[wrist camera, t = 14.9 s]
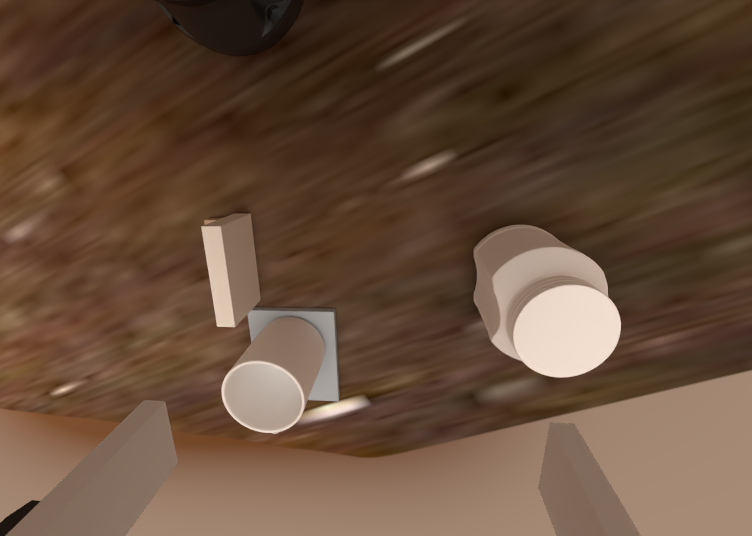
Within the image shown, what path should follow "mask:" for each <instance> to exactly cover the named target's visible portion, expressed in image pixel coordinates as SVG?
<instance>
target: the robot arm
mask: <svg viewBox="0 0 752 536" xmlns="http://www.w3.org/2000/svg"><path fill="white" fill-rule="evenodd" d="M155 1H157V3H158V5H159V6H160V8H161V9H162V10H163V12H164V13H165V15H166V16H167V17H168V18H169V20H170V21H171V22H172V23H173V24H174V25H175V26H176V27H177V28H178V29H179V30H180V31H182V32H183V33H184V34H185V35H186V36H188V37H189V38H191V39H192V40H194V41H195V42H197V43H199V44H201V45H203V46H205V47H207V48H209V49H211V50H213V51H216V52H219V53H222V54H227V55H234V56H242V55H250V54H254V53H258V52H260V51H263V50H265V49H267V48H269V47H270V46H272V45H273V44H275V43H276V42H277V41H279V40H280V39H281V38H282V37H283V36H284V35H285V34H286V32H287V31H288V30H289V29H290V27H291V26H292V24H293V23H294V21H295V19H296V17H297V15H298V13H299V11H300V9H301V6H302V3H303V0H155ZM177 463H178V462H177V457H176V452H175V447H174V442H173V437H172V433H171V428H170V423H169V418H168V413H167V409H166V404H165V401H151V400H144V401H143V402H142V403H141V404H140V405H139V406H138V407H137V408H136V409H135V410H134V411H133V412H132V413H131V414H130V415H129V416H128V417H126V418H125V419H124V420H123V421H122V422H121V423H120V424H119V425H118V426H117V427H116V428H115V429H114V430H113V431H112V432H111V433H110V434H109V435H108V436H107V437H106V438H105V439H104V440H103V441H102V442H101V443H100V444H99V445H98V446H97V447H96V448H95V449H94V450H93V451H92V452H91V453H90V454H89V455H88V456H86V458H84V459H83V460H82V461H81V462H80V463H79V464H78V465H77V466H76V467H75V468H74V469H73V470H72V471H71V472H70V473H69V474H68V475H67V476H66V477H65V478H64V479H63V480H62V481H61V482H60V483H59V484H58V485H57V486H56V487H55V488H54V489H53V490H52V491H51V492H50V493H49V494H48V495H47V496H45V497H44V498H43V499H42V500H41V501H34V500H32V501H30V502H29V503H27V504H26V505H24V506H23V507H21V508H20V509H18V510H17V511H15V512H14V513H12V514H11V515H9V516H8V517H6V518H5V519H4V520H3V521H2V522H1V523H0V536H126V534H127V533H128V532H129V530H130V529H131V527H132V526H133V524H134V523H135V522H136V520H137V519H138V518H139V516H140V515H141V513H142V512H143V511H144V509H145V508H146V506H147V505H148V504H149V502H150V501H151V500H152V498H153V497H154V495H155V494H156V493H157V491H158V490H159V488H160V487H161V485H162V484H163V483H164V482H165V480H166V479H167V477H168V476H169V475H170V473H171V471H172V470H173V469H174V467H175V466H176V465H177ZM538 488H539V490H540V493H541V496H542V498H543V501H544V504H545V506H546V509H547V511H548V514H549V517H550V519H551V522H552V525H553V527H554V530H555V533H556V535H557V536H641V535H640V534H639V532H638V530H637V528H636V527H635V525H634V523H633V522H632V520H631V518H630V517H629V515H628V513H627V512H626V510H625V508H624V507H623V505H622V503H621V502H620V500H619V498H618V496H617V495H616V493H615V491H614V490H613V488H612V487H611V485H610V483H609V482H608V480H607V478H606V476H605V475H604V473H603V471H602V470H601V468H600V466H599V465H598V463H597V461H596V459H595V458H594V456H593V454H592V453H591V451H590V449H589V448H588V446H587V444H586V443H585V441H584V439H583V438H582V436H581V434H580V433H579V431H578V429H577V428H576V426H575V424H565V423H550V425H549V431H548V436H547V442H546V447H545V453H544V459H543V464H542V470H541V475H540V481H539V487H538Z"/></svg>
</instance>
